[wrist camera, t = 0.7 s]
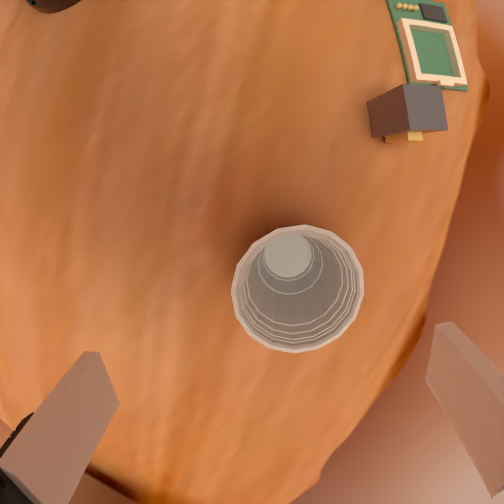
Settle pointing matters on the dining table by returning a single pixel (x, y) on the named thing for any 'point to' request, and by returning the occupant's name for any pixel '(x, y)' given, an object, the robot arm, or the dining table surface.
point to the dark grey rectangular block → (407, 113)
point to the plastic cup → (297, 288)
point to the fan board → (427, 44)
